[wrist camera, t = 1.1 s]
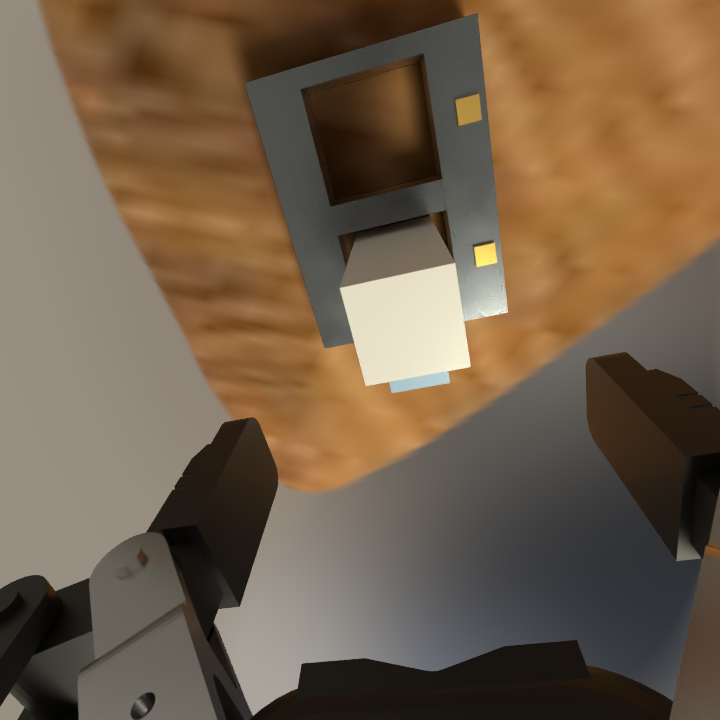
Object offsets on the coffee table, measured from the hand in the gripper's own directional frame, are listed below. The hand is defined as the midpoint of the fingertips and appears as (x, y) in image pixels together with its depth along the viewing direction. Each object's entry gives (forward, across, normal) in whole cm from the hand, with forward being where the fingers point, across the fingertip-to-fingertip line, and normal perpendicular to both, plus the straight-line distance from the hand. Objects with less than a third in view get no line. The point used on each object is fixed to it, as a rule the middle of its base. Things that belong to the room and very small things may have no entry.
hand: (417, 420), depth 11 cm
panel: (+16, 0, -3) cm, 16 cm away
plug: (+16, 0, 0) cm, 16 cm away
